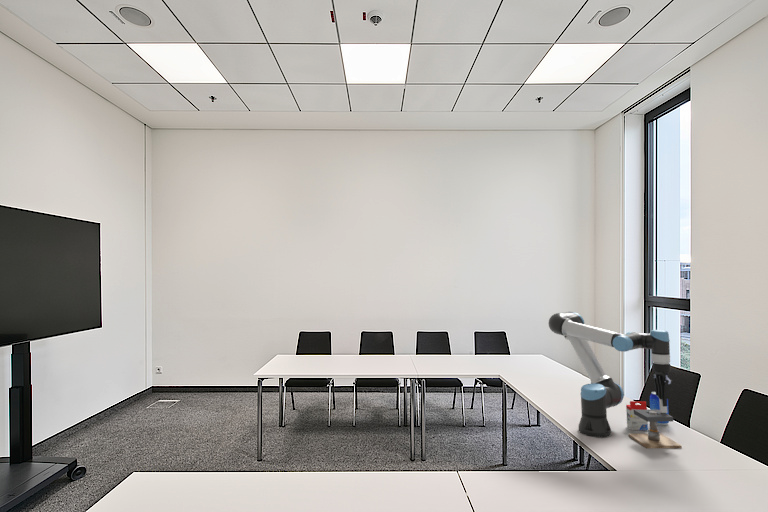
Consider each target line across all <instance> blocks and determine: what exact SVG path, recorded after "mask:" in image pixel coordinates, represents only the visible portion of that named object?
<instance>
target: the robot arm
mask: <svg viewBox="0 0 768 512" xmlns="http://www.w3.org/2000/svg"><path fill="white" fill-rule="evenodd" d="M548 327H549V329H550V331H551V333H552V332H553V333H554V334H556V335H560V336H563V337H564V338H565V340H567V341H569V343H570V344H571V346H572V348H573V350H574V352H575V353H576V355H577V357H578V359H579V361H580V363H581V364H582V367H583V368H584V371H585V373H586V374H587V377H588V378H589V380H590V383H587V384H584V385H582V386H581V388H580V404H581V417H580V420H579V423H578V432H579V433H580V434H582V435H585V436H588V437H593V438H607V437H610V436H612V428H611V426H610V423H609V420H608V415H607V411H608V410H607V409H610V408H614V407H617V406H618V405H620V404H621V403H622V402H623V399H624V396H625V394H624V393H625V392H624V391H623V388H622V386H621V385H620V384H618V383H616V382H614V379H613V378H612V377H611V376H609V375H608V374H607V373H606V371H605V369H604V368H603V366H602V364H601V362H600V361H599V359H598V356H597V355H596V352H595V351H594V350H593V347H592V346H591V344H590V342H593V343H597V344H601V345H604V346H607V347H611V348H614V349H615V350H616V351H618V352H629V351H633V350H638V349H643V350H644V349H645V350H646V349H647V350H651V361H652V366H651V369H652V371H654V374H652V375H651V378H652V379H653V384H654V385H653V386H654V390H655V391H654V392H656V395H657V396H658V398H659V404H660V412H661V413H667V399H668V400H670V399H671V394H672V393H671V392H672V384H673V380H672V379H670V376H669V373H670V372H671V371H672V369H671V368H672V367H671V352H670V350H671V349H670V342H671V341H670V336H669V332H668V331H667V330H665V329H664V330H663V329H651V330H650V332H649V333H647V332H646V333H644V332H636V331H632V332H631V331H630V332H626V334H624V333H620V332H616V331H611V330H609V329H604V328H600V327H595V326H592V325H587V324H585V320H584V318H583V316H582V315H580V313H577V312H574V311H566V312H557V313H553V315H551V316H550V317H549V318H548Z"/></svg>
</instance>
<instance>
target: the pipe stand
mask: <svg viewBox="0 0 768 512" xmlns="http://www.w3.org/2000/svg"><path fill="white" fill-rule="evenodd" d="M649 414H650V415H657V413H656V412H653V411H650V412H649ZM628 437H629V438H630V439H632V440H633V441H634V442H636V443H638V444H639V445H641V446H642V447H643V448H645V449H682V448H683V447H682V446H683V445H682V444H680V443H679V442H676V441H675V440H673V439H671V438H670V437H668V436H666V435H664V434H663V433H660V430H659V429H658V425H657V422H649V428H648V430H647V433H628Z"/></svg>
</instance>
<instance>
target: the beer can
mask: <svg viewBox="0 0 768 512" xmlns="http://www.w3.org/2000/svg"><path fill="white" fill-rule="evenodd" d="M649 410H660V404H659V398H658V396H657V395H656V392H655V391H651V393H650V395H649ZM669 412H670V411H669V399H667V413H666V414H668V415H670V414H669ZM669 423H670V421H665V422H657V426H667V425H668V424H669Z"/></svg>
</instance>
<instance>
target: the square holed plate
mask: <svg viewBox="0 0 768 512" xmlns="http://www.w3.org/2000/svg"><path fill="white" fill-rule="evenodd" d="M650 411H653V412H656V413H657V415H650V414H649V412H650ZM634 414H635V415H637V416H638V417H640V418H642V419H643V420H645V421H647V422H648V423H650V422H665V421H669V422H674V417H673V416H672V415H670V414H669V415H668V414H666V413H661V412H660V410H650V409H647V410H634Z"/></svg>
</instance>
